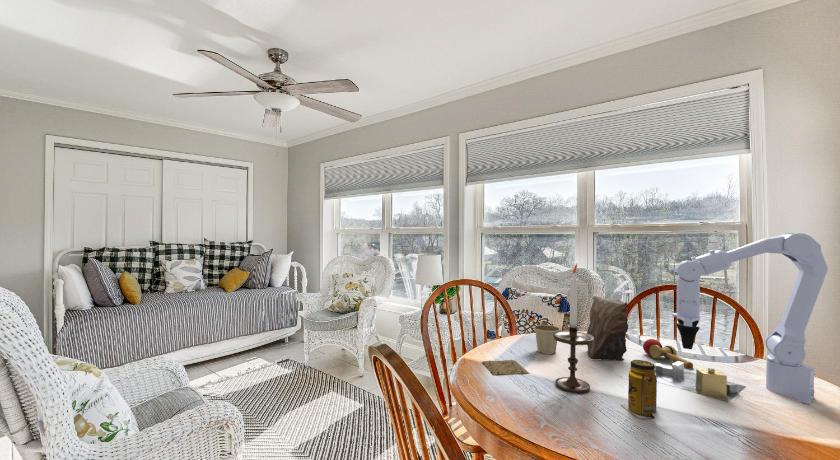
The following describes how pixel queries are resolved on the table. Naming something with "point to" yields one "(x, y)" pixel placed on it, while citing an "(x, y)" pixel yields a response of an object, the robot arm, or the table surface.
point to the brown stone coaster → (504, 367)
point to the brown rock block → (608, 329)
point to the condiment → (642, 389)
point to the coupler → (711, 382)
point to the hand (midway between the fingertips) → (687, 345)
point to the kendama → (663, 352)
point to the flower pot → (546, 338)
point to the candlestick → (573, 344)
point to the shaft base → (689, 380)
